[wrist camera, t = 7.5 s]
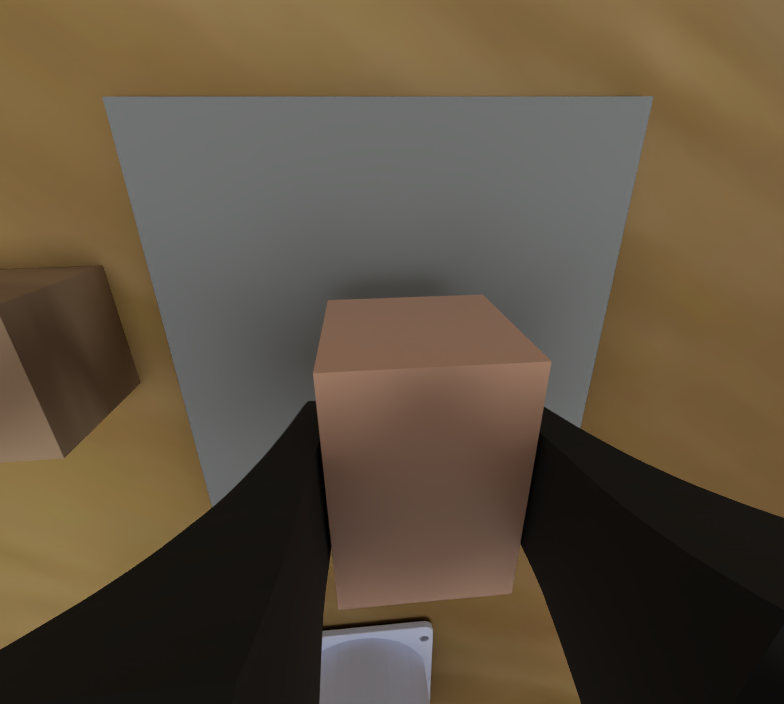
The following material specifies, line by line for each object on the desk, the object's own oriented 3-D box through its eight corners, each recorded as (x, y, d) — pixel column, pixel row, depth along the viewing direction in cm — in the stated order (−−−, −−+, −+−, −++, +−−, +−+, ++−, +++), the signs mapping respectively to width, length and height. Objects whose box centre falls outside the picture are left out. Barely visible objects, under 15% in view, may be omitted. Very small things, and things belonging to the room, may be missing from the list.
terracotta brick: (467, 474, 13) (511, 593, 9) (342, 483, 13) (338, 609, 9) (482, 294, 10) (551, 361, 7) (328, 300, 10) (312, 373, 6)
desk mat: (559, 486, 19) (564, 495, 19) (220, 511, 18) (216, 522, 18) (640, 99, 13) (653, 96, 12) (114, 100, 12) (102, 96, 11)
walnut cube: (141, 381, 15) (64, 458, 11) (17, 388, 15) (-109, 470, 11) (104, 264, 13) (-5, 305, 9) (-39, 270, 13) (-216, 314, 9)
